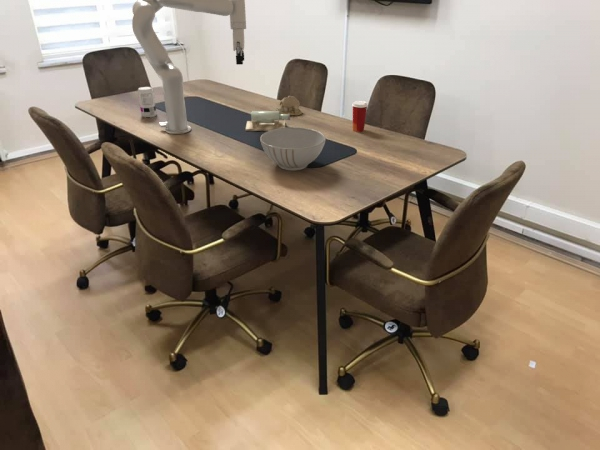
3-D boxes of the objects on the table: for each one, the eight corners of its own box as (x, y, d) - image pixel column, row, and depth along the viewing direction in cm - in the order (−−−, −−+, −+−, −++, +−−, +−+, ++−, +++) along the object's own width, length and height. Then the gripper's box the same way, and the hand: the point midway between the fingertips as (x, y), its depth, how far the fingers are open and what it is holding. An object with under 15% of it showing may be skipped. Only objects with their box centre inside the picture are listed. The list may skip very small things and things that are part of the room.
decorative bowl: (274, 182, 180) (273, 152, 174) (252, 158, 202) (251, 131, 196) (335, 171, 190) (337, 143, 184) (308, 150, 211) (309, 124, 205)
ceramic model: (296, 109, 269) (296, 92, 264) (305, 114, 260) (305, 96, 255) (273, 112, 263) (273, 94, 258) (282, 117, 254) (281, 99, 249)
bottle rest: (245, 130, 234) (245, 122, 232) (247, 122, 246) (246, 114, 243) (285, 130, 235) (285, 121, 233) (285, 122, 246) (285, 114, 244)
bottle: (251, 124, 236) (251, 113, 234) (252, 121, 242) (251, 109, 239) (290, 124, 237) (289, 112, 234) (289, 121, 242) (289, 109, 239)
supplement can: (138, 117, 255) (133, 89, 247) (148, 113, 261) (143, 85, 254) (150, 118, 252) (146, 90, 244) (160, 114, 259) (155, 87, 251)
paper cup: (367, 129, 237) (369, 101, 230) (363, 133, 231) (365, 105, 224) (353, 127, 240) (355, 99, 233) (348, 131, 234) (349, 103, 227)
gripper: (232, 23, 232) (234, 59, 240) (228, 27, 217) (231, 65, 225) (247, 23, 232) (249, 59, 240) (244, 27, 217) (246, 65, 225)
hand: (240, 62), depth 233 cm, fingers open, 9 cm apart
